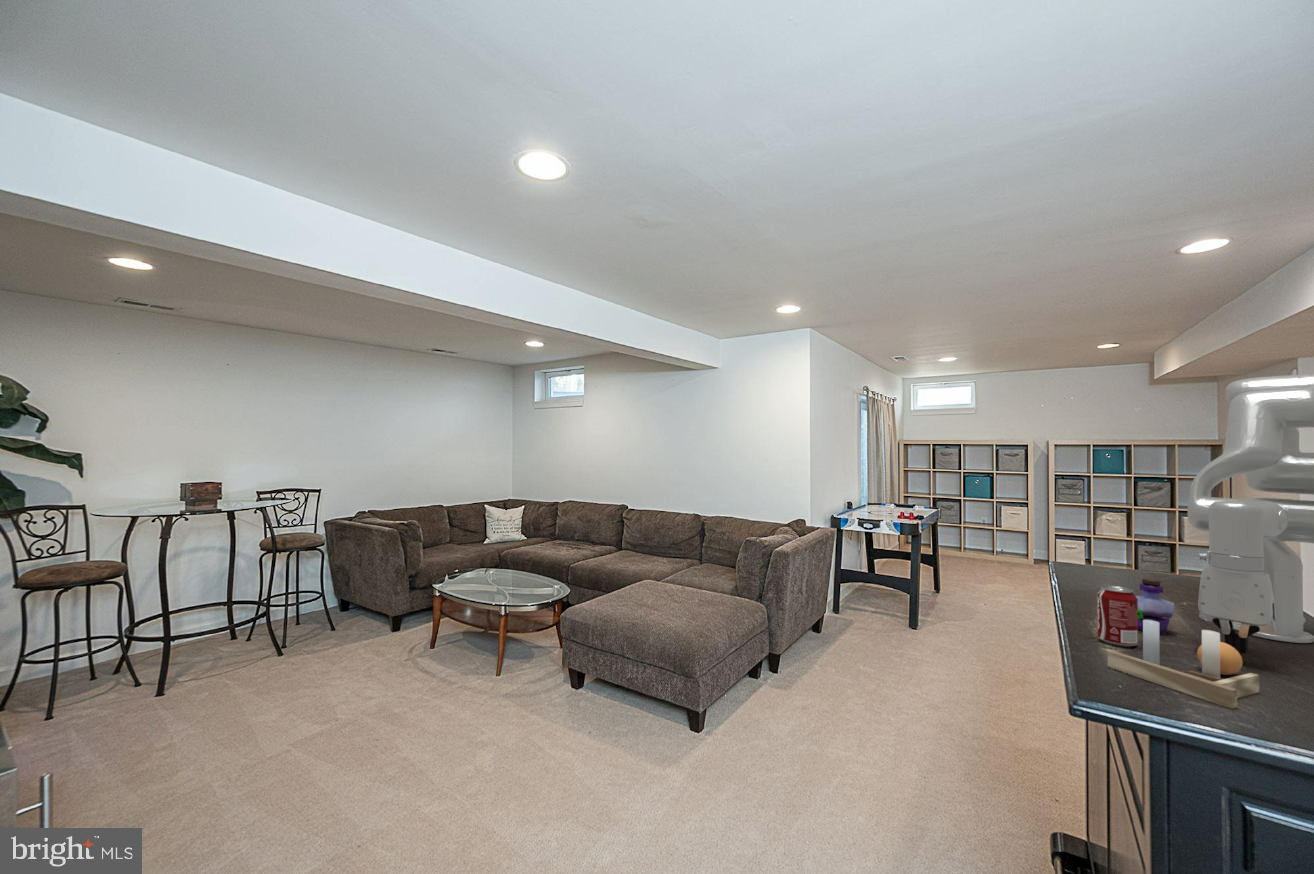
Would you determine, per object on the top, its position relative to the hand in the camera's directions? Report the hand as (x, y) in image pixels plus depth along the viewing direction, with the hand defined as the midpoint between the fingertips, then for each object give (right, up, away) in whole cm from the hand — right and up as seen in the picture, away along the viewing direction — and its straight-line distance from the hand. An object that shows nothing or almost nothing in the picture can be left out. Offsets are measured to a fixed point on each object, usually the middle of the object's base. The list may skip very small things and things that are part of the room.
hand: (1236, 654), depth 109 cm
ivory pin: (-13, -1, -8) cm, 15 cm away
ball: (-9, +2, -6) cm, 11 cm away
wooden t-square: (-19, -1, -9) cm, 21 cm away
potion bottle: (+1, -2, +19) cm, 20 cm away
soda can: (-15, -2, +10) cm, 18 cm away
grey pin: (-19, -1, -2) cm, 19 cm away
